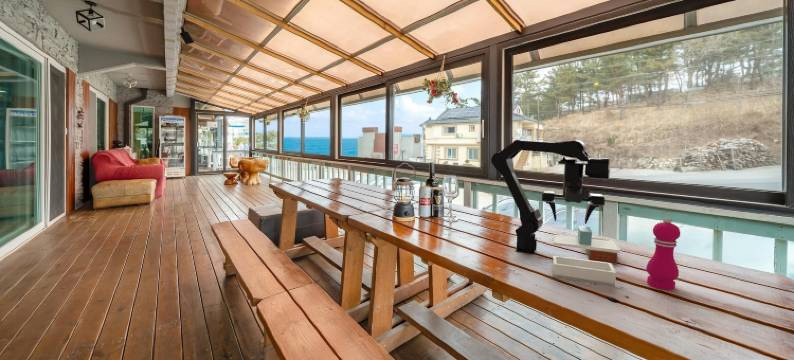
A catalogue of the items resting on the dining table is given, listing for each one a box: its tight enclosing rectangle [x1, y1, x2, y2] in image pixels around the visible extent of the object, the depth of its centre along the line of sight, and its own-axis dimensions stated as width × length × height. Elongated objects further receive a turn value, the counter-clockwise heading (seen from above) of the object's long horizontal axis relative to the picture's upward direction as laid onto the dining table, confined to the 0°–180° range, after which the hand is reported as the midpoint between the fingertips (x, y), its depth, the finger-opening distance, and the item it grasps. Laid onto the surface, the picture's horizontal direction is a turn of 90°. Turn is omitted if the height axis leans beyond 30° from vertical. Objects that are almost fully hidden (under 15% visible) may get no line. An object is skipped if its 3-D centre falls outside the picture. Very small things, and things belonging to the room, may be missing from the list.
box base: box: [552, 255, 617, 287], centre depth 100 cm, size 16×8×4 cm, turn 66°
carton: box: [584, 237, 618, 264], centre depth 118 cm, size 8×16×4 cm, turn 156°
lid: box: [552, 225, 621, 254], centre depth 98 cm, size 17×9×5 cm, turn 66°
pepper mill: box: [645, 216, 681, 291], centre depth 92 cm, size 7×7×20 cm
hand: (570, 222), depth 113 cm, fingers open, 9 cm apart
